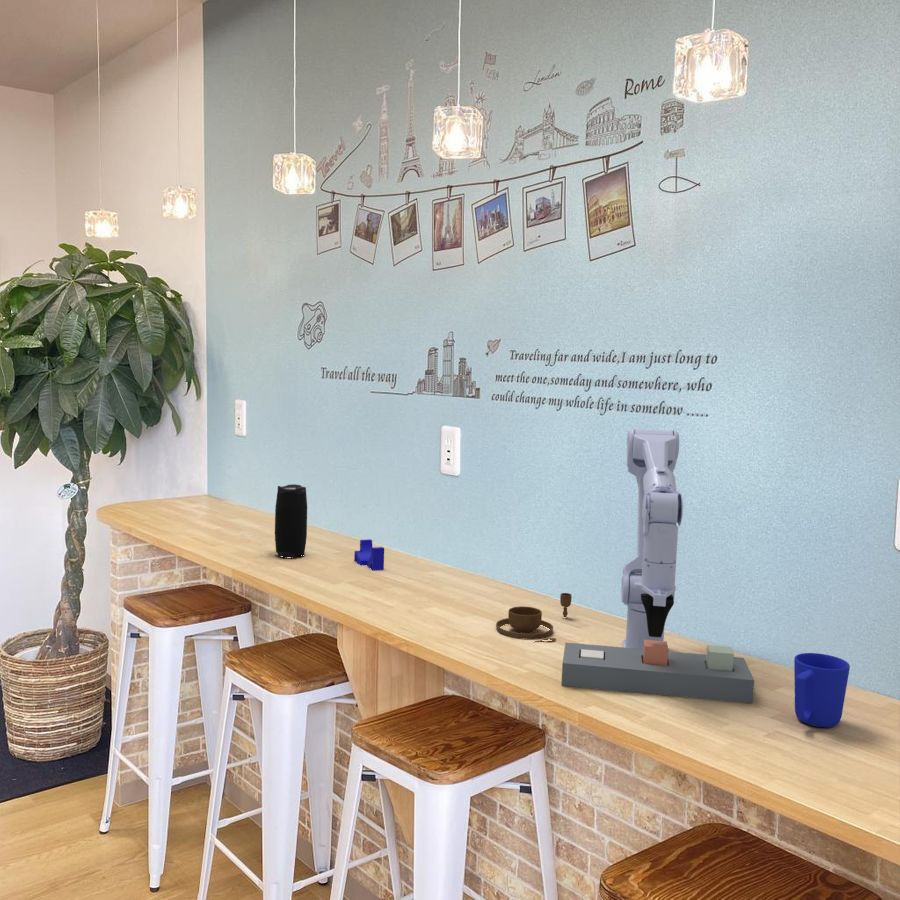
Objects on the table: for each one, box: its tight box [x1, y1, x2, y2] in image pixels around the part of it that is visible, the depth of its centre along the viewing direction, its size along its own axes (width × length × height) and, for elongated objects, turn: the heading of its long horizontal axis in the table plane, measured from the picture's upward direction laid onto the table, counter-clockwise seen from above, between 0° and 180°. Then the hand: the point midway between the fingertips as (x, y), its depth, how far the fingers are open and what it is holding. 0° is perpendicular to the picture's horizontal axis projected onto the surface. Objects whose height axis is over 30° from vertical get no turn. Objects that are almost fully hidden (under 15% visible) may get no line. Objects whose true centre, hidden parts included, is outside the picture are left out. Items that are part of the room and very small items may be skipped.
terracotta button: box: [643, 640, 669, 666], centre depth 160 cm, size 4×4×4 cm
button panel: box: [561, 642, 755, 704], centre depth 161 cm, size 12×32×4 cm, turn 80°
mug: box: [793, 652, 851, 728], centre depth 144 cm, size 8×12×10 cm
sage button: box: [706, 644, 735, 671], centre depth 159 cm, size 4×4×4 cm
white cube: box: [581, 649, 604, 660], centre depth 162 cm, size 4×4×4 cm
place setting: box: [495, 592, 572, 643], centre depth 191 cm, size 18×20×6 cm
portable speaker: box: [274, 483, 308, 558], centre depth 251 cm, size 9×9×20 cm
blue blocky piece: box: [353, 538, 385, 571], centre depth 244 cm, size 12×4×6 cm, turn 22°
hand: (654, 636), depth 160 cm, fingers closed
